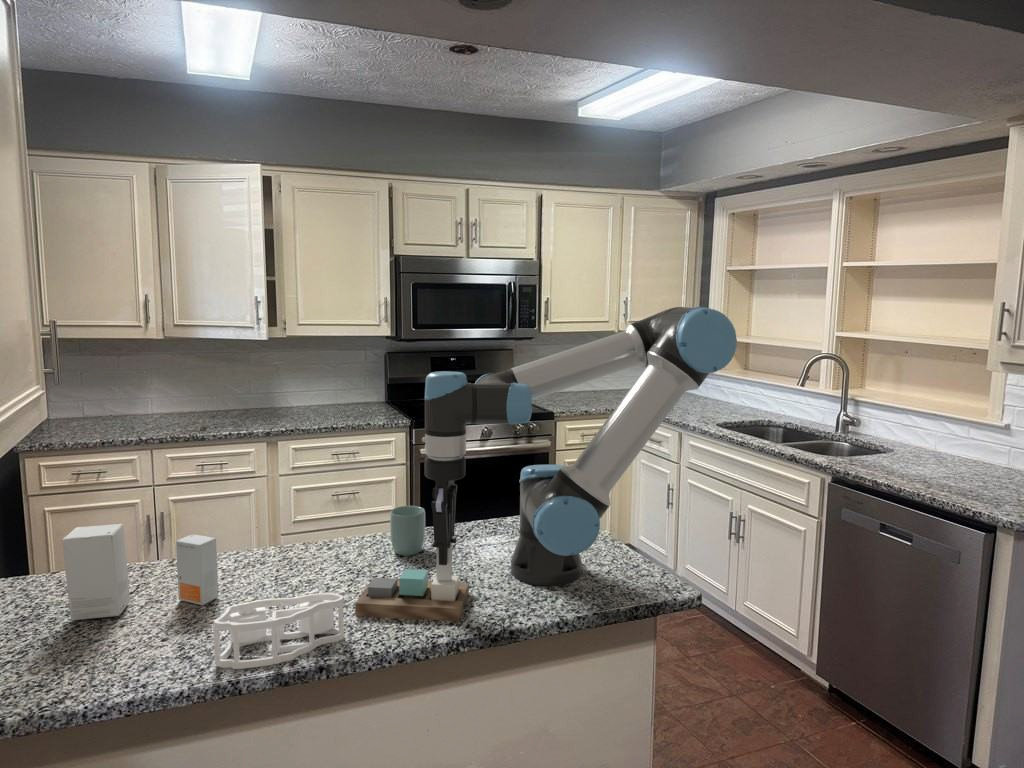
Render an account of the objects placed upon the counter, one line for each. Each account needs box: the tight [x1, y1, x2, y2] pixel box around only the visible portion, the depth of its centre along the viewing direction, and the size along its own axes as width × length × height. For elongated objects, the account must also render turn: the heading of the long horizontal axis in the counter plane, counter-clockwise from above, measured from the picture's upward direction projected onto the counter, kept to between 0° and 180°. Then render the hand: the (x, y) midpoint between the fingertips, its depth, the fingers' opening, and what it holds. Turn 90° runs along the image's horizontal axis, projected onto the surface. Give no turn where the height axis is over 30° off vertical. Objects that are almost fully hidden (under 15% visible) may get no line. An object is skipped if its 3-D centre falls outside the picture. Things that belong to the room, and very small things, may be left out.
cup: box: [389, 505, 426, 557], centre depth 153 cm, size 8×8×10 cm
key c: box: [368, 577, 398, 598], centre depth 127 cm, size 4×4×3 cm
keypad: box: [354, 578, 470, 622], centre depth 127 cm, size 19×11×2 cm, turn 85°
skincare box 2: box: [175, 534, 219, 606], centre depth 128 cm, size 6×4×12 cm
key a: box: [431, 575, 460, 601], centre depth 126 cm, size 4×4×3 cm
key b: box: [398, 568, 429, 596], centre depth 126 cm, size 4×4×3 cm
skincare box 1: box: [61, 523, 131, 621], centre depth 122 cm, size 8×7×16 cm
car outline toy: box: [212, 592, 345, 670], centre depth 111 cm, size 20×11×7 cm, turn 107°
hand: (444, 578), depth 126 cm, fingers closed
